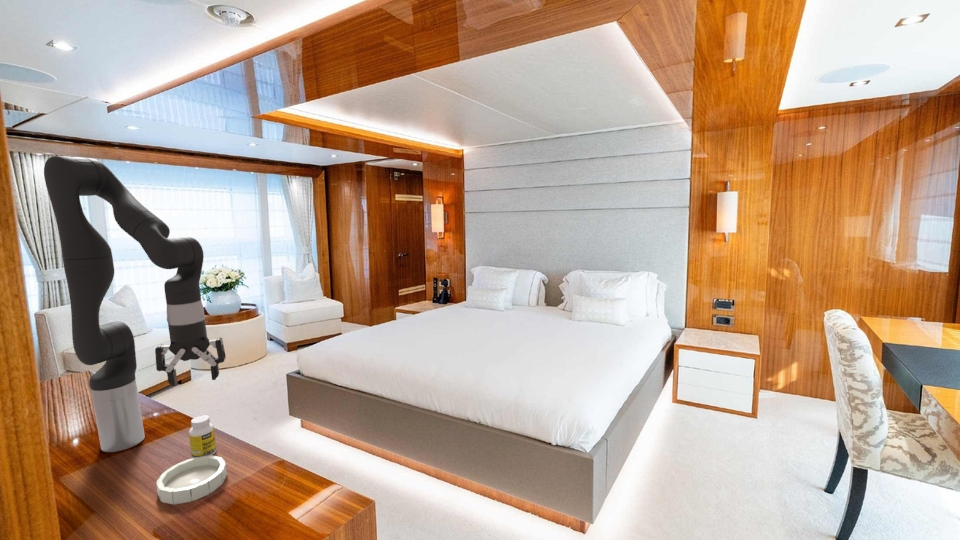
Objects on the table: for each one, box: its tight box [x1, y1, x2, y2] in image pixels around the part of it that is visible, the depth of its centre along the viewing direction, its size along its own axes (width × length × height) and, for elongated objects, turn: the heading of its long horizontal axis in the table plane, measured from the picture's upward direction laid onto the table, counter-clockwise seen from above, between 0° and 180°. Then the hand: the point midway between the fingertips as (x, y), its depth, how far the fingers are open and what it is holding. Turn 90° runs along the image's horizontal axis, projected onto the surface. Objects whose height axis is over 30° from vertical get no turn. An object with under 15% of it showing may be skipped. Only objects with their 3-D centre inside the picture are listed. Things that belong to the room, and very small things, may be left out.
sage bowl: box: [155, 455, 228, 505], centre depth 100 cm, size 13×13×3 cm
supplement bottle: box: [188, 414, 217, 458], centre depth 112 cm, size 5×5×10 cm
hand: (194, 381), depth 109 cm, fingers open, 8 cm apart
